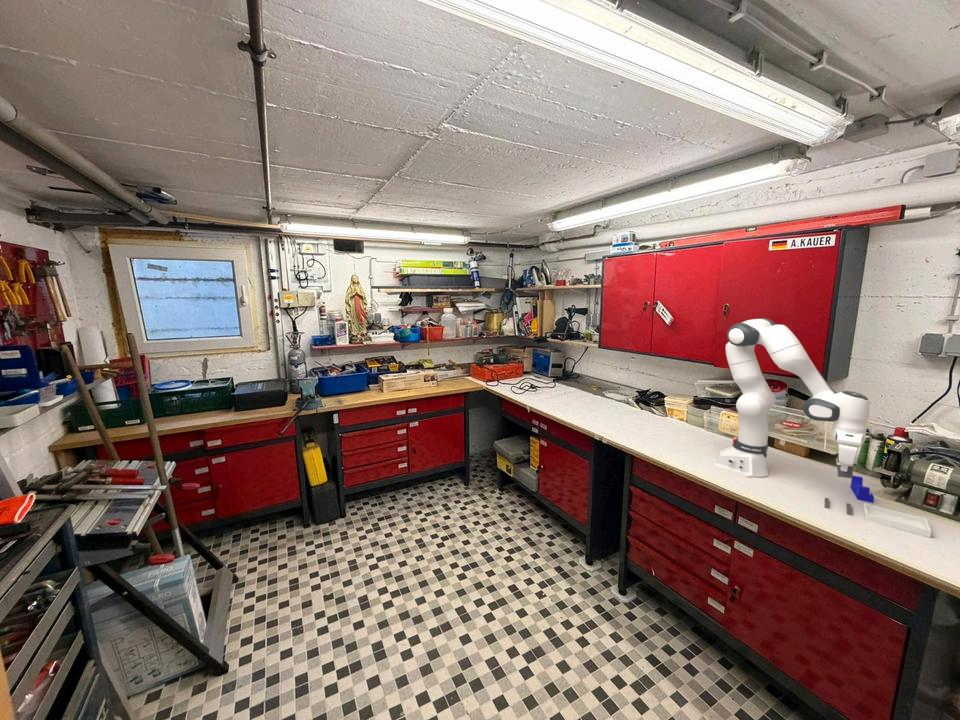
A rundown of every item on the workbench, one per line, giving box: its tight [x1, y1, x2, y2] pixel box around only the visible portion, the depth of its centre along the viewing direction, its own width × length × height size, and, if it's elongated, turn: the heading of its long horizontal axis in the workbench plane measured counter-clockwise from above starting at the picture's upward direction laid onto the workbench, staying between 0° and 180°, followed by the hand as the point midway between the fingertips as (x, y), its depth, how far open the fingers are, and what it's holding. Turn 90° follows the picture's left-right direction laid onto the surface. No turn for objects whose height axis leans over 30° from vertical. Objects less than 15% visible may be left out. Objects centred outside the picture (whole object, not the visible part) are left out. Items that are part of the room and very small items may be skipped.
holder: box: [824, 497, 853, 516], centre depth 142 cm, size 7×8×2 cm
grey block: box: [835, 455, 854, 479], centre depth 140 cm, size 4×4×7 cm
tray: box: [862, 502, 932, 539], centre depth 133 cm, size 16×10×2 cm, turn 46°
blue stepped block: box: [850, 474, 875, 504], centre depth 151 cm, size 12×4×6 cm, turn 145°
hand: (843, 468), depth 140 cm, fingers closed on grey block, 4 cm apart
